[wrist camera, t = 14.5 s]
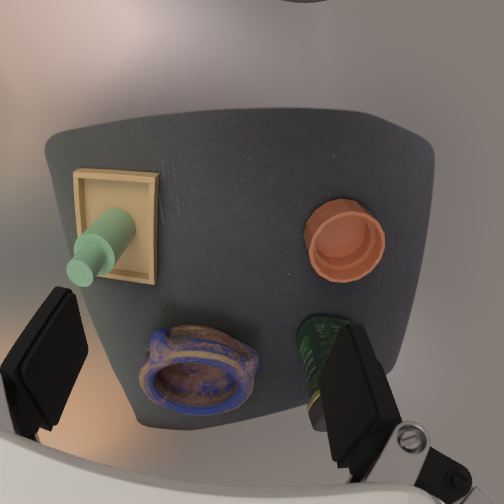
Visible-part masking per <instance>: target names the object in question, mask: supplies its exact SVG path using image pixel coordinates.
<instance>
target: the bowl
mask: <svg viewBox="0 0 504 504" xmlns="http://www.w3.org/2000/svg"><path fill="white" fill-rule="evenodd" d="M259 366H260V356H259V355H258V353H257V351H256V350H255V349H254V348H253V347H251V346H250V345H247V344H245V343H243V342H241V341H238V340H237V339H235V338H232V337H230V336H229V335H227V334H225V333H224V332H221V331H219V330H217V329H214V328H211V327H207V326H201V325H181V326H177V327H173V328H161V329H157V330H156V331H155V332H153V333H152V334H151V336H150V338H149V343H148V349H147V351H146V354H145V355H144V357H143V358H142V360H141V363H140V367H139V371H138V375H139V381H140V386H141V387H142V391H143V394H144V395H145V396H146V397H148V398H149V399H150V400H151V401H153V402H154V403H156V404H158V405H161V406H163V407H165V408H168V409H170V410H173V411H176V412H178V413H183V414H188V415H199V416H207V415H215V414H221V413H225V412H230V411H233V410H235V409H237V408H239V407H240V405H241V404H242V403H244V402H245V401H246V400H247V399H248V398H249V396H250V395H251V393H252V391H253V388H254V378H255V375H256V372H257V371H258V369H259Z"/></svg>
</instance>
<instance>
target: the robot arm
mask: <svg viewBox="0 0 504 504" xmlns="http://www.w3.org/2000/svg"><path fill="white" fill-rule="evenodd" d="M87 355H88V344H87V341H86V336H85V333H84V329H83V325H82V321H81V316H80V312H79V307H78V304H77V298H76V295H75V294H73V293H72V291H71V289H68V288H63V287H58V286H57V287H55V288H54V289H53V290H52V292H51V293H50V294H49V296H48V297H47V298H46V300H45V301H44V302H43V304H42V305H41V306H40V308H39V309H38V311H37V312H36V313H35V315H34V316H33V317H32V319H31V320H30V322H29V323H28V325H27V326H26V327H25V329H24V330H23V332H22V333H21V335H20V336H19V338H18V339H17V341H16V342H15V344H14V345H13V347H12V348H11V350H10V351H9V353H8V355H7V356H6V358H5V359H4V361H3V363H2V364H1V367H0V504H493V503H492V502H491V501H490V500H489V499H488V498H487V497H486V496H485V495H484V493H483V492H482V491H481V490H480V489H479V488H478V487H477V486H476V487H474V488H473V487H472V477H471V475H470V472H469V471H468V469H467V468H465V467H464V466H463V465H461V464H459V463H458V462H456V461H454V460H452V459H451V458H449V457H447V456H445V455H444V454H442V453H440V452H439V451H437V450H435V449H433V448H432V447H430V443H431V441H430V436H429V434H428V432H427V431H426V429H425V428H424V427H423V426H422V425H420V424H419V423H416V422H413V421H405V422H402V419H401V416H400V413H399V411H398V408H397V405H396V403H395V399H394V397H393V394H392V391H391V389H390V386H389V383H388V381H387V378H386V375H385V373H384V370H383V368H382V365H381V363H380V362H379V361H378V360H377V358H376V356H375V353H374V351H373V348H372V346H371V343H370V341H369V338H368V336H367V333H366V331H365V328H364V326H363V325H362V324H346V325H345V326H344V327H341V328H340V329H339V332H338V334H337V336H336V339H335V341H334V343H333V346H332V348H331V350H330V353H329V355H328V357H327V359H326V362H325V364H324V366H323V368H322V370H321V373H320V375H319V378H318V386H319V391H320V396H321V401H322V406H323V412H324V417H325V422H326V428H327V433H328V439H329V445H330V450H331V456H332V460H333V461H335V462H336V461H337V466H338V468H347V467H349V471H350V474H351V476H350V477H349V479H348V480H347V482H346V483H345V484H334V485H320V486H300V487H299V486H298V487H249V486H248V487H247V486H230V485H217V484H206V483H197V482H189V481H182V480H175V479H168V478H162V477H157V476H152V475H147V474H142V473H137V472H133V471H128V470H124V469H120V468H116V467H112V466H108V465H104V464H100V463H97V462H93V461H90V460H87V459H84V458H80V457H77V456H74V455H71V454H68V453H65V452H62V451H59V450H57V449H54V448H51V447H48V446H45V445H43V444H41V443H40V440H39V437H38V434H37V432H38V430H39V427H40V428H43V429H45V430H48V431H51V430H52V427H53V425H57V424H58V422H59V420H60V417H61V415H62V412H63V410H64V407H65V405H66V402H67V400H68V397H69V395H70V393H71V390H72V388H73V386H74V384H75V381H76V379H77V377H78V374H79V372H80V370H81V368H82V366H83V364H84V361H85V359H86V357H87Z"/></svg>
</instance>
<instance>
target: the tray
mask: <svg viewBox="0 0 504 504" xmlns="http://www.w3.org/2000/svg"><path fill="white" fill-rule="evenodd" d="M73 181H74V199H75V213H76V224H77V234H78V238H79V236H80V235H81V234H82V233H83V232H84V231H85V230H86V229H87V228H88V227H89V226H90V225H91V224H92V223H93V222H94V221H95V220H96V219H97V218H98V217H99V216H100V215H101V214H102V213H103V212H104V211H106V210H107V209H110V208H119V209H122V210H124V211H125V212H127V213H128V214H129V215H130V216H131V218H132V219H133V221H134V224H135V235H134V237H133V239H132V240H131V242H130V243H129V245H128V246H127V248H126V249H125V251H124V252H123V254H122V255H121V257H120V258H119V260H118V261H117V263H116V264H115V266H114V268H113V269H112V270H111V271H110V272H109V273H108V274H105V275H101V276H99V277H105V278H112V279H118V280H124V281H131V282H138V283H144V284H151V285H154V284H155V282H156V280H157V223H158V190H159V173H149V172H136V171H122V170H107V169H88V168H79V169H78V170H76V171H74V172H73ZM97 276H98V275H97Z"/></svg>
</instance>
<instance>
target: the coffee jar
mask: <svg viewBox="0 0 504 504" xmlns="http://www.w3.org/2000/svg"><path fill="white" fill-rule="evenodd" d="M346 324H352V322H350V321H348V320H346V319H342V318H337V317H330V316H314V317H311V318H309V319H307V320H306V321H305V322H304V323H303V324H302V326H301V327H300V329H299V331H298V334H297V337H296V344H297V349H298V352H299V356H300V359H301V362H302V365H303V368H304V372H305V375H306V379H307V382H308V387H309V393H310V399H309V402H308V414H309V417H310V420H311V424H312V426H313V429H314V430H316V431H320V432H327V428H326V422H325V417H324V412H323V406H322V401H321V396H320V391H319V386H318V378H319V375H320V373H321V370H322V368H323V366H324V364H325V362H326V359H327V357H328V355H329V353H330V350H331V348H332V346H333V343H334V341H335V339H336V336H337V334H338V332H339V329H340V328H341V327H344V326H345V325H346Z"/></svg>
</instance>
